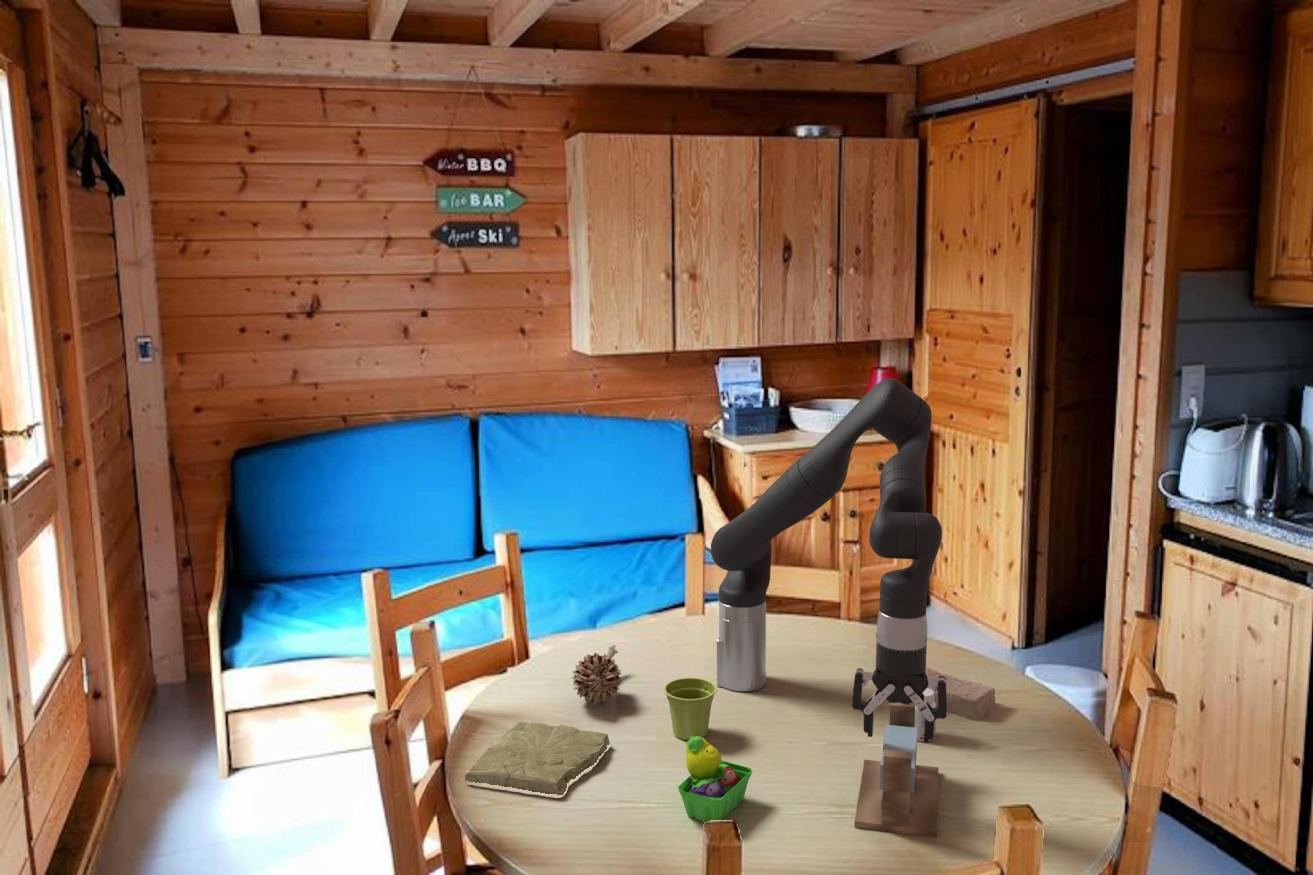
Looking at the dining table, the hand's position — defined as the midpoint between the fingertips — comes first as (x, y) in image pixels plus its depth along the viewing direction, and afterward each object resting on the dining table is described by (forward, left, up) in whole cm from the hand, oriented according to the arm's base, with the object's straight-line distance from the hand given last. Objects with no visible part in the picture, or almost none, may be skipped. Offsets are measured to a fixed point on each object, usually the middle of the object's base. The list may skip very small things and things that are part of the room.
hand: (898, 737), depth 170 cm
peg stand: (0, 0, -10) cm, 10 cm away
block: (0, 0, -5) cm, 5 cm away
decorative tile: (-59, -2, -11) cm, 60 cm away
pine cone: (-58, +28, -11) cm, 65 cm away
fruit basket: (-28, -9, -11) cm, 31 cm away
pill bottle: (+3, +23, -11) cm, 26 cm away
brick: (+8, +39, -11) cm, 41 cm away
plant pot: (-37, +15, -11) cm, 41 cm away
